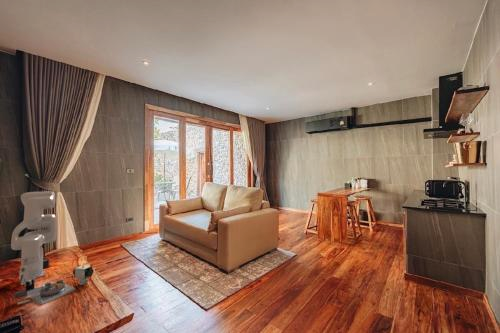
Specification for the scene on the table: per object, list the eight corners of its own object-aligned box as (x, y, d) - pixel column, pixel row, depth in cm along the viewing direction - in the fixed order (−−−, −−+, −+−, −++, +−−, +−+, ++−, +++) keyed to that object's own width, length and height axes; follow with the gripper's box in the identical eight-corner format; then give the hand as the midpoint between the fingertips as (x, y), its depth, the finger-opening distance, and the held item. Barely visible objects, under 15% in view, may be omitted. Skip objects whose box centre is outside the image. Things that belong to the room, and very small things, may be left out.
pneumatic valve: (87, 286, 138) (87, 267, 138) (72, 284, 140) (72, 266, 141) (94, 282, 143) (95, 264, 144) (80, 280, 146) (80, 262, 146)
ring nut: (11, 304, 116) (11, 296, 116) (17, 295, 125) (17, 288, 125) (63, 292, 128) (63, 284, 129) (65, 284, 137) (66, 277, 138)
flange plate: (14, 303, 121) (14, 300, 121) (62, 284, 140) (62, 282, 141) (26, 310, 114) (26, 308, 114) (75, 290, 133) (75, 287, 133)
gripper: (26, 264, 120) (25, 297, 119) (47, 254, 135) (47, 284, 134) (11, 265, 119) (10, 298, 118) (34, 255, 134) (33, 284, 133)
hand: (29, 290), depth 126 cm, fingers closed
